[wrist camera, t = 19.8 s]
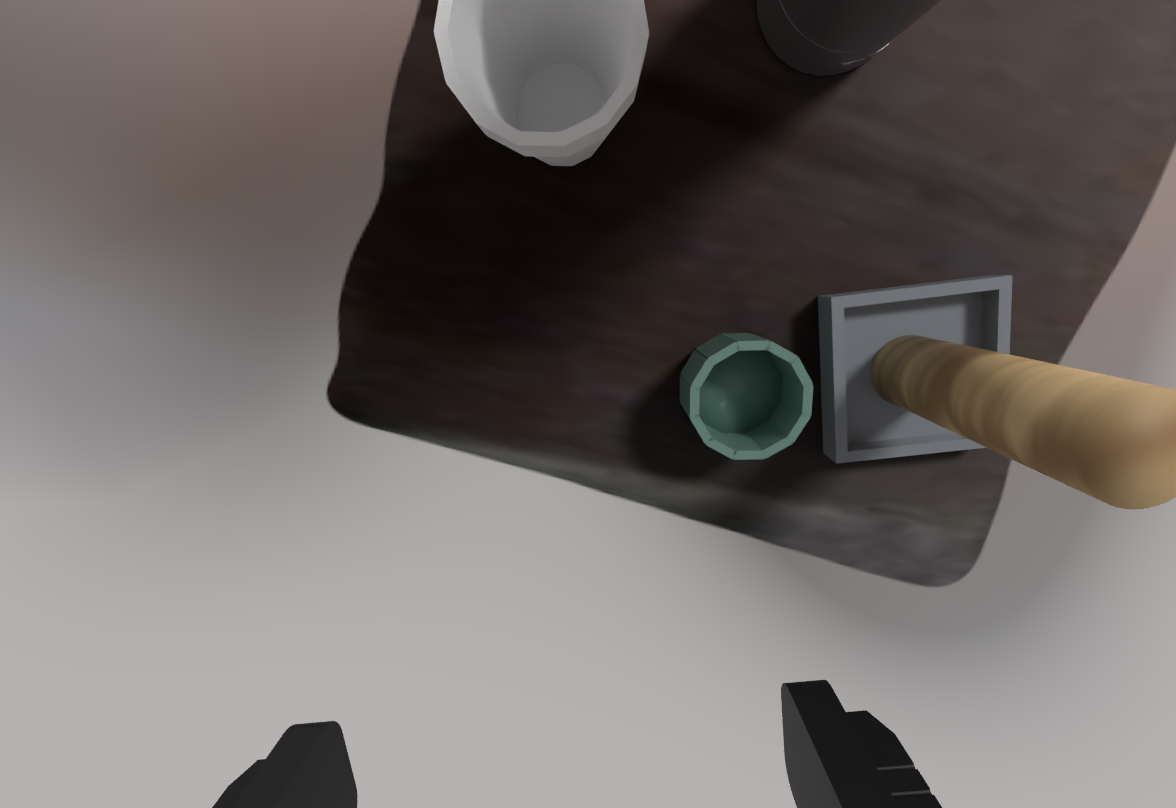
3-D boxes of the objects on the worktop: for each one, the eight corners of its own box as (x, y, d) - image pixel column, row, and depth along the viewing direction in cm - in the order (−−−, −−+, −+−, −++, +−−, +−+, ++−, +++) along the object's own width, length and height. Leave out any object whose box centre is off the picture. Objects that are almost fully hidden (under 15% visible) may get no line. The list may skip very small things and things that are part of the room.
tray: (823, 453, 42) (836, 463, 40) (817, 296, 40) (831, 297, 37) (983, 435, 41) (1006, 445, 39) (987, 275, 39) (1012, 275, 37)
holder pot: (660, 369, 41) (668, 381, 36) (756, 312, 40) (777, 317, 35) (712, 456, 42) (726, 480, 37) (806, 404, 41) (833, 421, 36)
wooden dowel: (859, 357, 40) (1062, 428, 22) (926, 321, 39) (1191, 364, 21) (888, 417, 40) (1105, 530, 23) (954, 382, 40) (1230, 472, 22)
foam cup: (509, 20, 36) (458, -120, 24) (648, 56, 37) (672, -62, 24) (480, 172, 38) (419, 119, 26) (612, 206, 39) (616, 170, 26)
